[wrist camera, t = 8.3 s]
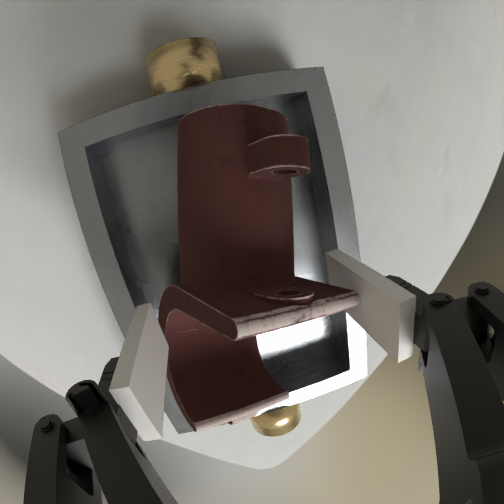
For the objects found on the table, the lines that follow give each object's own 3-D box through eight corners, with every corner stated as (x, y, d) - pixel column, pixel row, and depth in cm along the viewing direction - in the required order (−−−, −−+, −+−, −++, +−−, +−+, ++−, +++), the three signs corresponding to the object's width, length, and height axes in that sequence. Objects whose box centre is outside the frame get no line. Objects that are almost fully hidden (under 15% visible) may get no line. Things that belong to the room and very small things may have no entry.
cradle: (74, 100, 16) (48, 86, 12) (291, 47, 18) (312, 23, 14) (190, 422, 25) (192, 456, 21) (348, 374, 27) (368, 401, 23)
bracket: (167, 410, 18) (248, 506, 9) (148, 147, 17) (230, 66, 8) (244, 389, 21) (345, 451, 13) (234, 154, 20) (350, 108, 12)
